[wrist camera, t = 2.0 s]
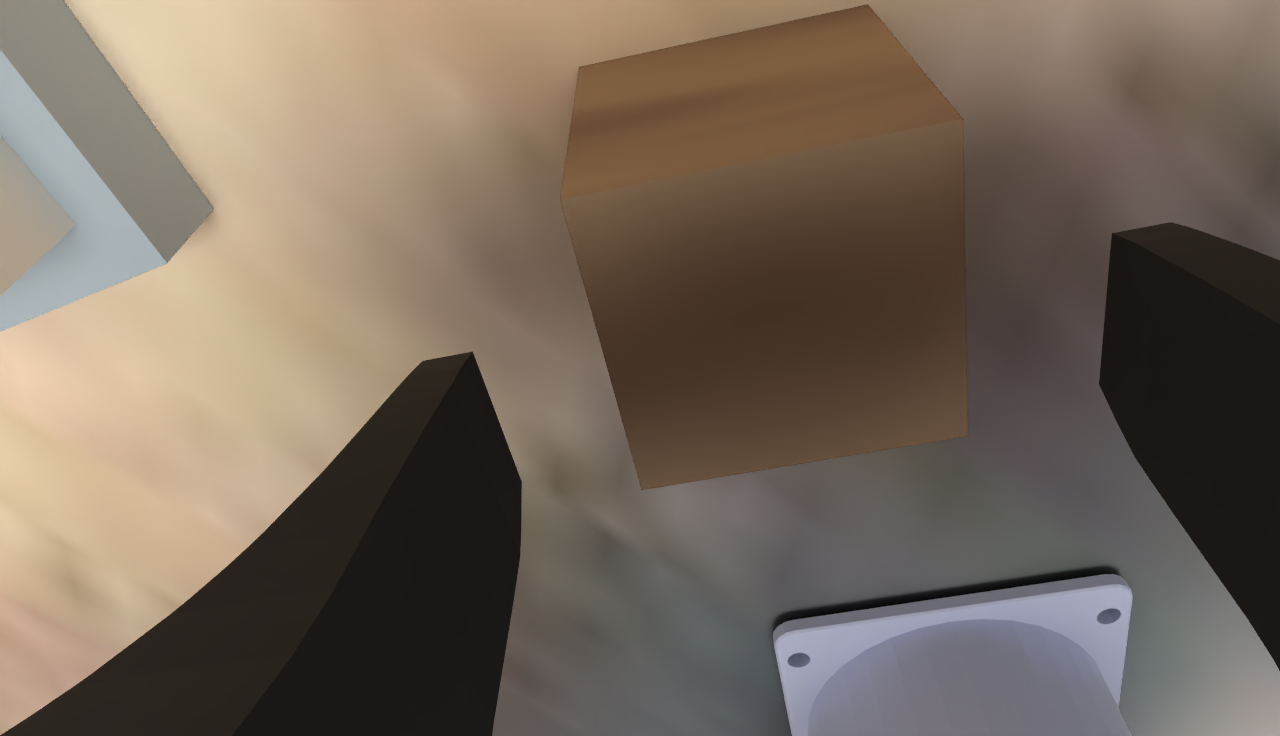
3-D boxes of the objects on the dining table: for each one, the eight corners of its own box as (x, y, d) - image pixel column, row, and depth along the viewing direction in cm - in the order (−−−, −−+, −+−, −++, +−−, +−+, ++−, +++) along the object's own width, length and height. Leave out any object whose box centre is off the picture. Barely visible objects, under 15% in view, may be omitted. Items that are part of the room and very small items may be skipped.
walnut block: (885, 260, 17) (968, 436, 13) (638, 307, 17) (641, 489, 13) (867, 4, 14) (962, 118, 10) (579, 65, 15) (559, 199, 11)
